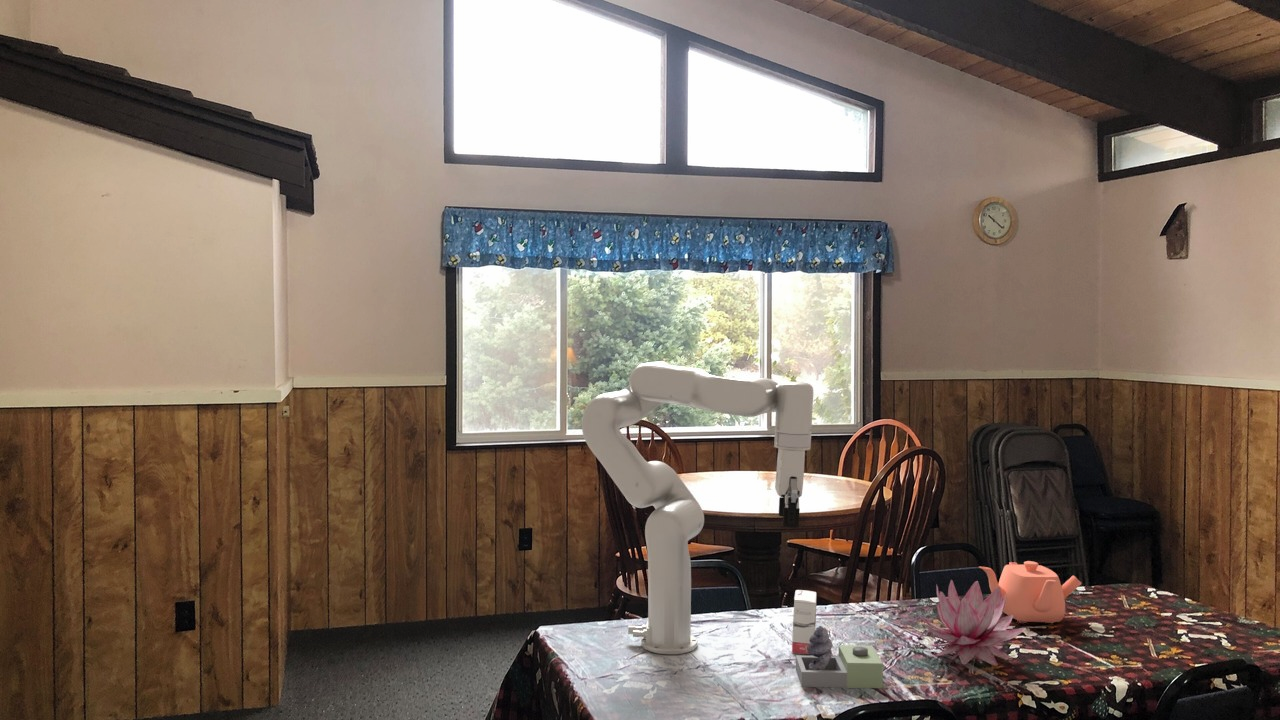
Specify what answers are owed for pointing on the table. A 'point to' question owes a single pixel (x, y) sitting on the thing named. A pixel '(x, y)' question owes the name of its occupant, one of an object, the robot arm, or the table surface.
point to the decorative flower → (973, 624)
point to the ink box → (803, 620)
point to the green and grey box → (844, 669)
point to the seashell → (820, 648)
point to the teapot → (1032, 592)
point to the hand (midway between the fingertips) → (788, 521)
